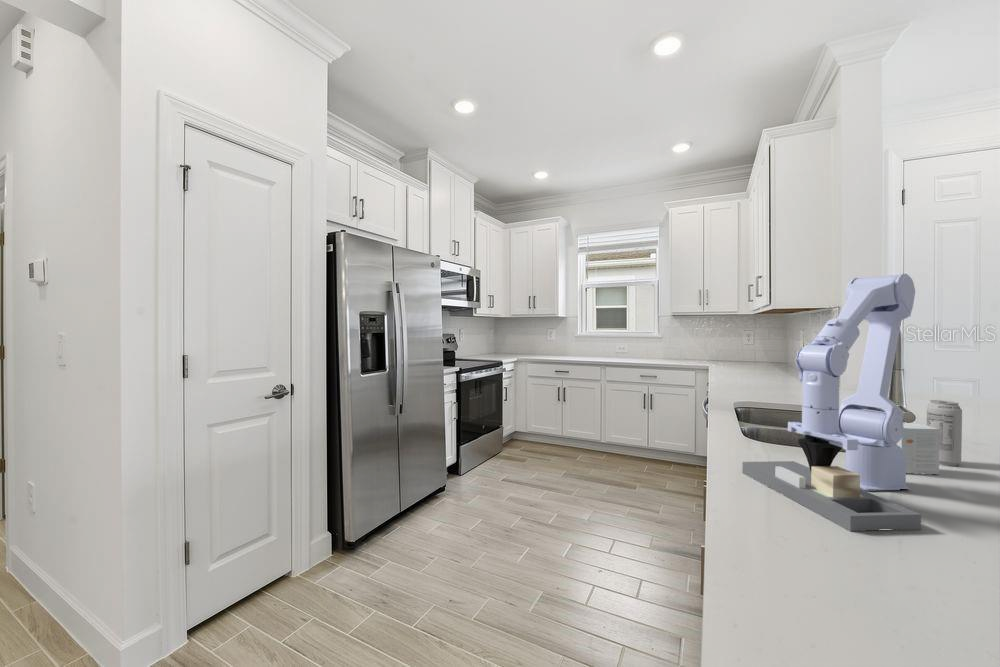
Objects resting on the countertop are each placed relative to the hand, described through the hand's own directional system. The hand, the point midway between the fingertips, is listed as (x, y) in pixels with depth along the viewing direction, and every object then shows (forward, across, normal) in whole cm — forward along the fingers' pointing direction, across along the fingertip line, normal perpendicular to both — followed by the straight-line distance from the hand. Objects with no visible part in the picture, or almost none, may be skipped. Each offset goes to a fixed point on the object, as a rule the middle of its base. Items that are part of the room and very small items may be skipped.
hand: (819, 477), depth 83 cm
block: (+1, +4, 0) cm, 4 cm away
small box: (+4, -14, +34) cm, 37 cm away
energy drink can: (+4, -20, +48) cm, 52 cm away
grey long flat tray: (+4, 0, 0) cm, 4 cm away
